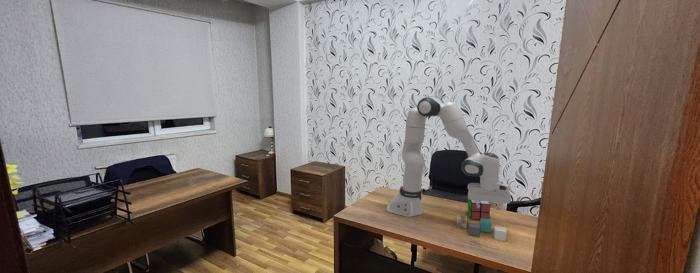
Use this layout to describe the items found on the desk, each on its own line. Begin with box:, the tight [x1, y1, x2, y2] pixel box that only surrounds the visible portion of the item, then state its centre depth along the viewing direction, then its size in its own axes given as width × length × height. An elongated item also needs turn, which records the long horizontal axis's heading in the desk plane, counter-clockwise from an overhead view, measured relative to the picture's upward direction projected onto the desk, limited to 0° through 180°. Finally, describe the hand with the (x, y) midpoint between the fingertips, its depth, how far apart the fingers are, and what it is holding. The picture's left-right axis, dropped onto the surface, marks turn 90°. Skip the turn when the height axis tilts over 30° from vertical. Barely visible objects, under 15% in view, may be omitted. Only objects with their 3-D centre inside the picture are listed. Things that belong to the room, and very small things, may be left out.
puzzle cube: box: [467, 198, 491, 221], centre depth 168 cm, size 10×10×10 cm
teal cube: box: [479, 218, 493, 233], centre depth 153 cm, size 5×5×5 cm
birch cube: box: [456, 214, 468, 230], centre depth 157 cm, size 5×5×5 cm
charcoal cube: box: [468, 222, 481, 238], centre depth 149 cm, size 5×5×5 cm
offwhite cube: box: [493, 225, 507, 242], centre depth 144 cm, size 5×5×5 cm
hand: (488, 208), depth 151 cm, fingers open, 8 cm apart
